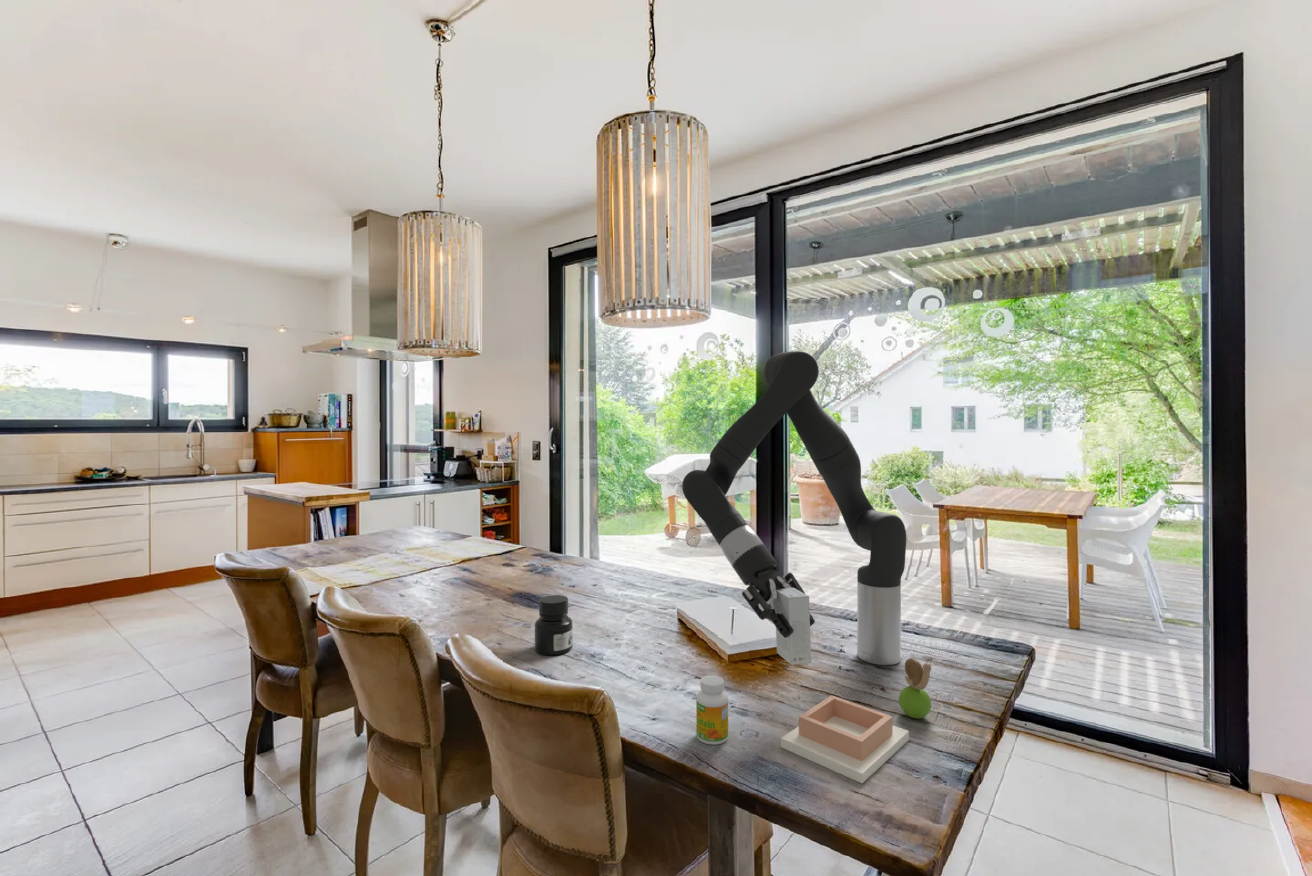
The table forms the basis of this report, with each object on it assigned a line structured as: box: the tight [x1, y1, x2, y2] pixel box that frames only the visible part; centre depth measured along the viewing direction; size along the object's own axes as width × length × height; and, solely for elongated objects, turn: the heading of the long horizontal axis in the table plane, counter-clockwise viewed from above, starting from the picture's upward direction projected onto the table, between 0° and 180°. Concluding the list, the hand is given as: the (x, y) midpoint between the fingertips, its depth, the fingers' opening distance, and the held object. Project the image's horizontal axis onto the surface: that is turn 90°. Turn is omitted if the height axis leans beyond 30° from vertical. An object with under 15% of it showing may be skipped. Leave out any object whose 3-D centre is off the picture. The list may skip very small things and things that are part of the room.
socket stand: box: [780, 694, 910, 784], centre depth 97 cm, size 17×14×4 cm
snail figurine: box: [898, 657, 933, 720], centre depth 105 cm, size 5×6×12 cm
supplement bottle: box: [695, 675, 729, 746], centre depth 99 cm, size 5×5×10 cm
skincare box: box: [775, 588, 812, 666], centre depth 107 cm, size 6×4×12 cm
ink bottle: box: [534, 594, 574, 656], centre depth 139 cm, size 10×9×12 cm
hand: (800, 630), depth 105 cm, fingers closed on skincare box, 6 cm apart
